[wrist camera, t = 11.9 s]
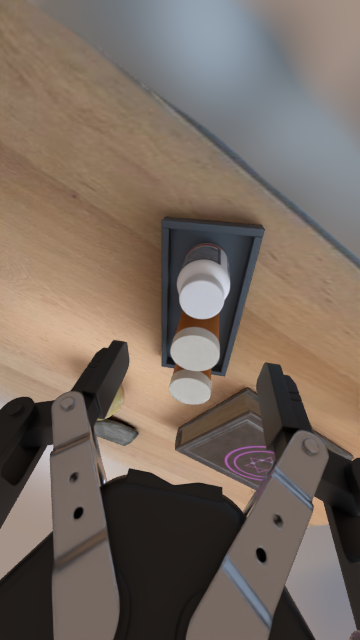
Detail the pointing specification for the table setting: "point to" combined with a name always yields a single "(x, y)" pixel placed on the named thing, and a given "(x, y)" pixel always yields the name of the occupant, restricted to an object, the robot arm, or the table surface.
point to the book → (234, 440)
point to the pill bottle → (204, 281)
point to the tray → (242, 256)
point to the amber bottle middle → (196, 343)
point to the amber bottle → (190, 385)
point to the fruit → (116, 403)
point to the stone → (115, 431)
